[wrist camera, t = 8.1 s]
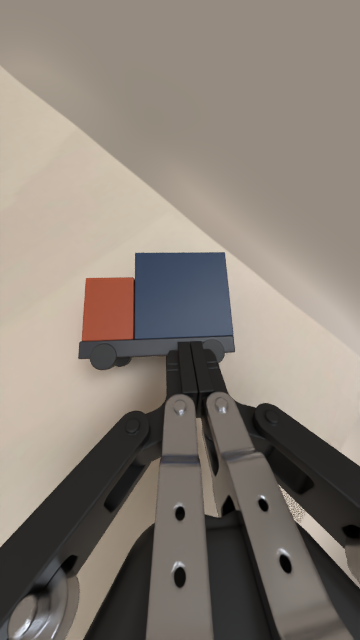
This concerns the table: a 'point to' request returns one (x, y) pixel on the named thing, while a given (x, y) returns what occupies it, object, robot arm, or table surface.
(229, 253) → the table surface
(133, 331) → the toy truck
